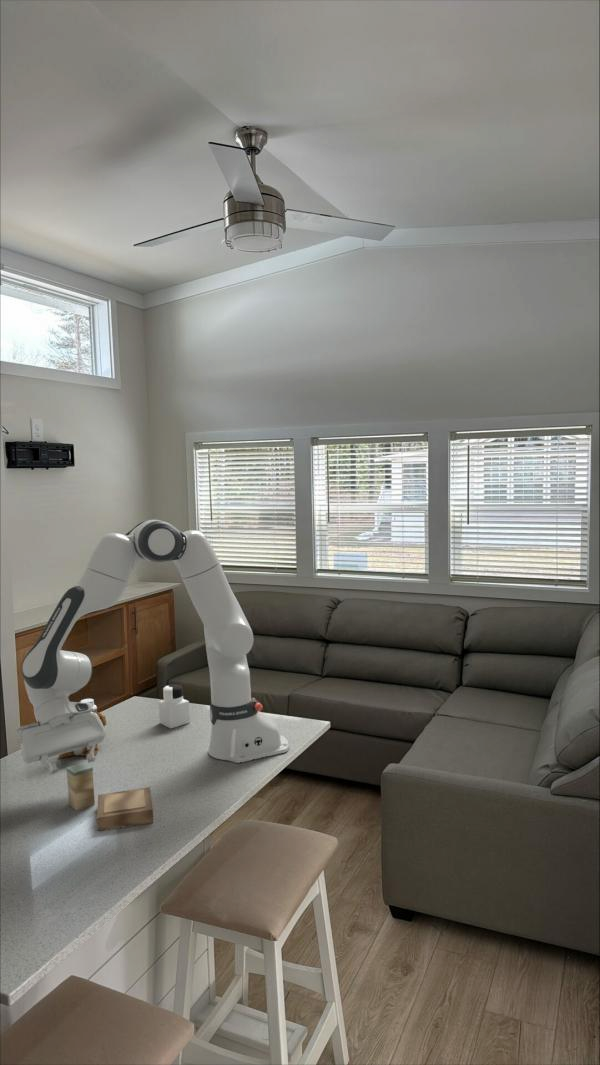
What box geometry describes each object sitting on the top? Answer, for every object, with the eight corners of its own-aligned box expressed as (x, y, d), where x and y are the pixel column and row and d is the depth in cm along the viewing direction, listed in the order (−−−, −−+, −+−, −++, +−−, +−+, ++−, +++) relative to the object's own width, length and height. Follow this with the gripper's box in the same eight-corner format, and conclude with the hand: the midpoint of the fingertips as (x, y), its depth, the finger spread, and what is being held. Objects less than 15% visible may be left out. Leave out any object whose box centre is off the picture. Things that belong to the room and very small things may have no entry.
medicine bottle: (179, 717, 228) (177, 681, 227) (190, 723, 222) (188, 685, 221) (159, 723, 223) (157, 686, 222) (170, 728, 218) (168, 690, 217)
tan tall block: (87, 798, 172) (84, 761, 171) (95, 804, 169) (92, 767, 168) (68, 804, 169) (66, 767, 168) (76, 810, 166) (73, 773, 165)
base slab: (150, 799, 170) (149, 786, 170) (153, 822, 158) (152, 808, 158) (99, 807, 167) (98, 793, 167) (97, 831, 155) (96, 816, 155)
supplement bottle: (98, 734, 215) (96, 702, 214) (79, 737, 214) (76, 704, 213) (98, 728, 221) (96, 696, 220) (80, 731, 219) (77, 698, 218)
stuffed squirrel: (56, 759, 197) (53, 713, 196) (81, 740, 211) (78, 697, 210) (89, 761, 195) (86, 714, 194) (112, 741, 209) (109, 698, 208)
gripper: (15, 721, 169) (32, 773, 163) (96, 701, 182) (115, 749, 175) (11, 735, 173) (27, 786, 166) (90, 714, 186) (109, 761, 179)
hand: (73, 766), depth 171 cm, fingers open, 8 cm apart
